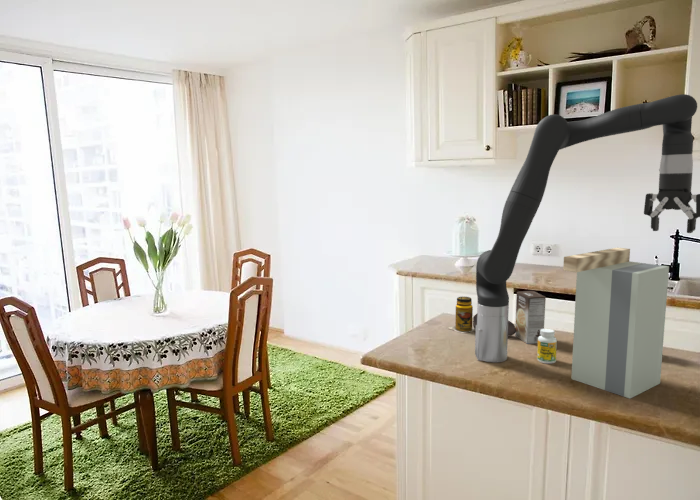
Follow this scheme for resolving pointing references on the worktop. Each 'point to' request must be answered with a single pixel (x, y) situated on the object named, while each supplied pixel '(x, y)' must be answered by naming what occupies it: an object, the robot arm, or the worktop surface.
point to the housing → (620, 327)
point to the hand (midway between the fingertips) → (672, 231)
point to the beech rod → (596, 259)
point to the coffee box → (529, 316)
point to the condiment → (463, 315)
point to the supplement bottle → (547, 346)
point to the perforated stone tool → (510, 326)
